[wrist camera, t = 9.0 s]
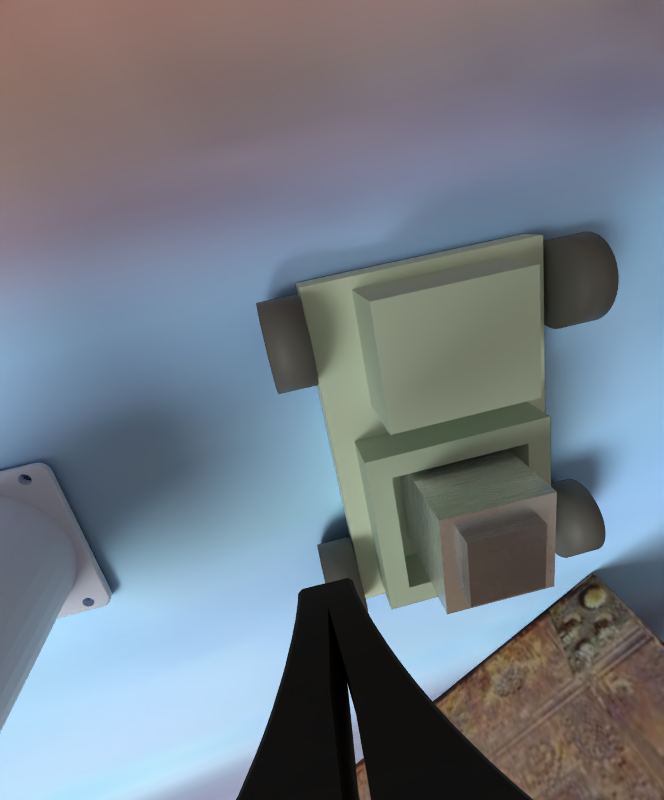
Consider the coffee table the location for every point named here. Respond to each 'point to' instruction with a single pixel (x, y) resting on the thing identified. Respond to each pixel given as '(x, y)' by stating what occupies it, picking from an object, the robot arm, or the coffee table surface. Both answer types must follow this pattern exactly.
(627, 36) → the coffee table surface
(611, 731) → the brown rectangular box
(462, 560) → the engine block
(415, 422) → the chassis
